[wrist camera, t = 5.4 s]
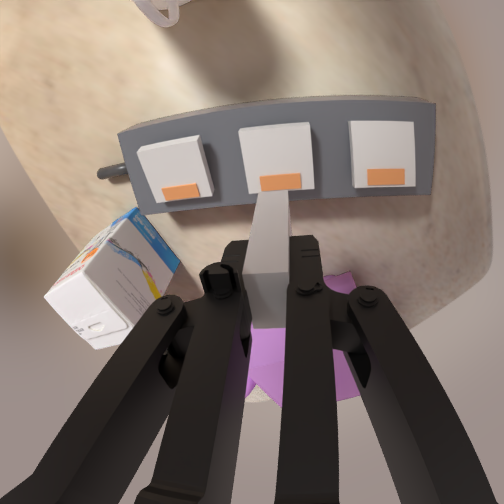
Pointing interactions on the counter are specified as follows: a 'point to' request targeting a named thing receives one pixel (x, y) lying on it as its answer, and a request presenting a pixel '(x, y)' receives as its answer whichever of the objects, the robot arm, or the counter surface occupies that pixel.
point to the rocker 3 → (382, 153)
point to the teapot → (273, 351)
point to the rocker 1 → (177, 169)
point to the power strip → (270, 113)
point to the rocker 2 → (277, 157)
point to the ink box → (114, 280)
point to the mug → (150, 3)
